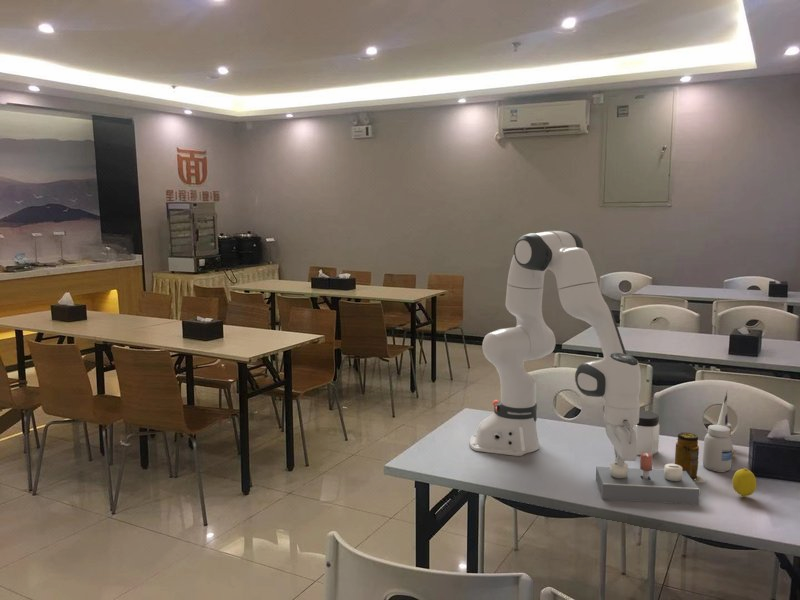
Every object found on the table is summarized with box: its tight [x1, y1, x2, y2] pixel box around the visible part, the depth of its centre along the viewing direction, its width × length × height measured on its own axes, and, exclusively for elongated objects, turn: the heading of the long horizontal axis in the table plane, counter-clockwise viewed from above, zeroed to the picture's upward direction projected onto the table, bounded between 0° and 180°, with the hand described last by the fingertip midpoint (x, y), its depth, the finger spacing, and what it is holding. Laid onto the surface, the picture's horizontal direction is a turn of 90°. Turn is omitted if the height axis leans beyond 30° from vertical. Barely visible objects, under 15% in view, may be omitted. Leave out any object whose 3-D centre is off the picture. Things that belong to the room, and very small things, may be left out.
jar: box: [633, 410, 660, 456], centre depth 201 cm, size 9×8×12 cm
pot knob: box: [639, 453, 654, 480], centre depth 172 cm, size 3×3×8 cm
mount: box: [595, 466, 700, 505], centre depth 173 cm, size 24×12×4 cm, turn 82°
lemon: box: [732, 467, 757, 498], centre depth 169 cm, size 6×6×8 cm
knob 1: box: [609, 460, 629, 478], centre depth 173 cm, size 4×4×7 cm
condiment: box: [674, 431, 706, 484], centre depth 182 cm, size 7×8×12 cm
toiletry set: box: [702, 388, 735, 473], centre depth 194 cm, size 25×8×20 cm, turn 148°
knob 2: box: [663, 463, 682, 481], centre depth 171 cm, size 4×4×7 cm
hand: (619, 463), depth 173 cm, fingers closed, pressing on knob 1
